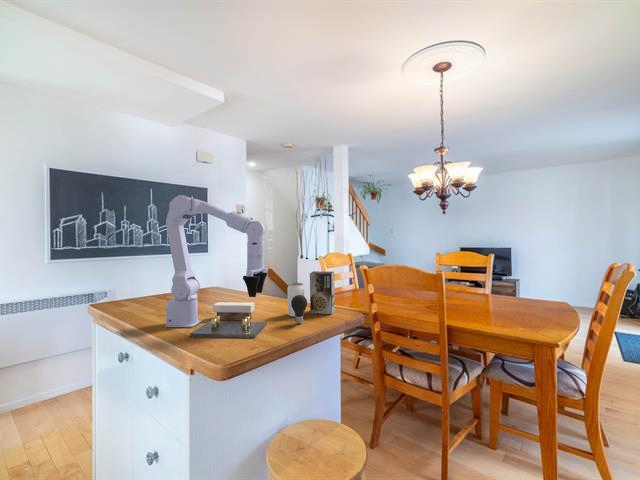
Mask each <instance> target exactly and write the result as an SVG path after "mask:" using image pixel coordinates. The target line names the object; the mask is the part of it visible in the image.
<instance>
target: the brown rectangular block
mask: <svg viewBox="0 0 640 480" xmlns="http://www.w3.org/2000/svg"><path fill="white" fill-rule="evenodd" d="M216 316H220V321H242V319H245V317H250V320H251V319H252V312H251V313H245V312H216Z"/></svg>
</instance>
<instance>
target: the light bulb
mask: <svg viewBox="0 0 640 480" xmlns="http://www.w3.org/2000/svg"><path fill="white" fill-rule="evenodd" d="M291 306H292V308H293V310H294V312H295V316H296V317H295V322H296V323H297V324H298V325H301V324H302V323H303V322H304V315H305V311H306V309H307V307H308V300H307V298H306V297H305V295H304V296H303V295H296V296H295V297H293V299H292V301H291Z"/></svg>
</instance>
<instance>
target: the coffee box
mask: <svg viewBox="0 0 640 480" xmlns="http://www.w3.org/2000/svg"><path fill="white" fill-rule="evenodd" d="M335 300H336V299H335V271H323V270H322V271H321V270H320V271H314V270H313V271H311V272H309V307H310V308H309V310H310V311H309V313H310V314H316V313H319V315H333V313H334V312H336V305H335V303H336V301H335Z"/></svg>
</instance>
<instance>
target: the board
mask: <svg viewBox="0 0 640 480" xmlns="http://www.w3.org/2000/svg"><path fill="white" fill-rule="evenodd" d="M255 309H256V308H255V302H233V301H232V302H228V301H227V302H223V301H222V302H220V301H217V302H216V303H214V304H212V313H217V312H245V313H251V314H252V312H253V311H255Z"/></svg>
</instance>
